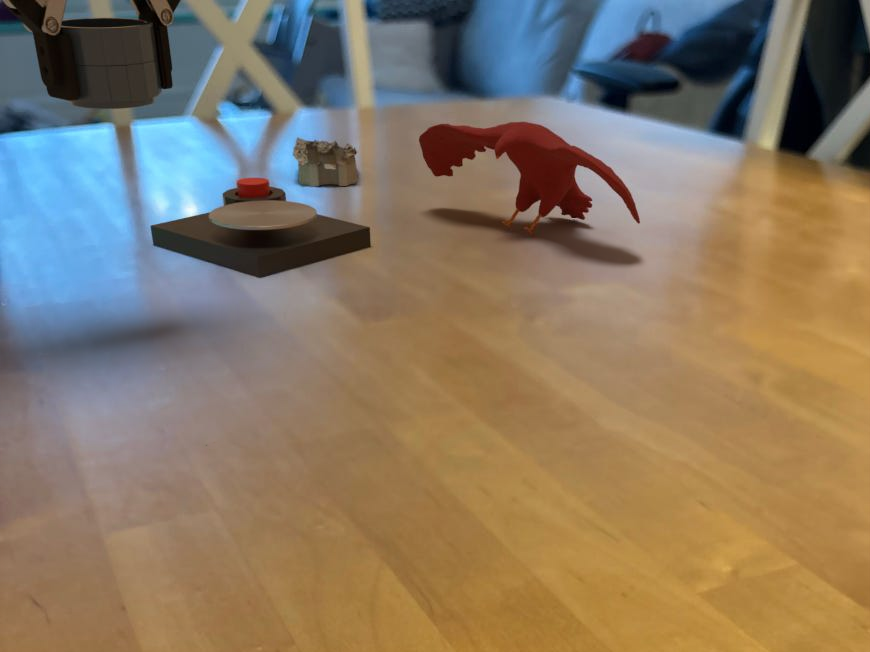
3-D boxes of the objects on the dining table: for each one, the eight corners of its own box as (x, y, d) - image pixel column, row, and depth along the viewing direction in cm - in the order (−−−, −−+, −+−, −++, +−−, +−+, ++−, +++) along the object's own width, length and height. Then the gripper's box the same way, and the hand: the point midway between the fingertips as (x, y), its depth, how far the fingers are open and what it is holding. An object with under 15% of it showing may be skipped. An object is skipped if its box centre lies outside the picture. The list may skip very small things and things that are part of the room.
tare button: (231, 197, 112) (229, 181, 111) (256, 191, 114) (254, 175, 113) (252, 202, 110) (250, 186, 109) (276, 196, 112) (275, 180, 111)
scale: (149, 244, 109) (144, 207, 107) (261, 218, 117) (257, 183, 115) (259, 278, 100) (255, 238, 98) (371, 247, 109) (369, 209, 107)
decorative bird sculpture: (451, 243, 126) (379, 151, 114) (494, 175, 126) (427, 76, 114) (650, 299, 109) (591, 199, 97) (699, 221, 110) (646, 112, 98)
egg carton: (358, 187, 130) (356, 150, 127) (293, 188, 129) (290, 150, 127) (358, 167, 138) (356, 131, 136) (297, 167, 138) (295, 132, 136)
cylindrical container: (45, 101, 79) (30, 21, 76) (127, 91, 83) (115, 15, 81) (98, 113, 76) (84, 30, 73) (181, 102, 80) (171, 23, 77)
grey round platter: (186, 216, 104) (186, 213, 103) (269, 198, 110) (269, 195, 110) (256, 236, 98) (256, 232, 98) (339, 215, 105) (338, 212, 104)
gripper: (-42, -237, 62) (27, 113, 72) (213, -216, 72) (242, 85, 83) (-104, -231, 66) (-30, 99, 76) (146, -213, 77) (181, 75, 87)
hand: (111, 90), depth 79 cm, fingers closed on cylindrical container, 6 cm apart
